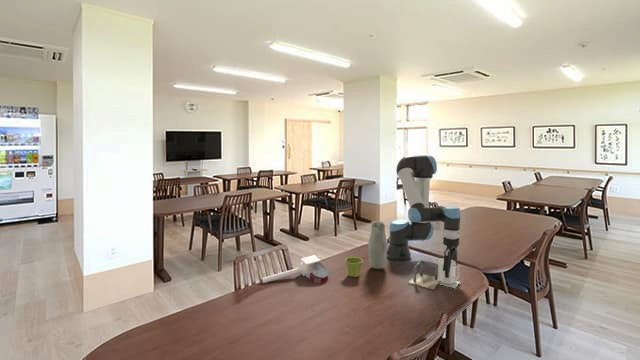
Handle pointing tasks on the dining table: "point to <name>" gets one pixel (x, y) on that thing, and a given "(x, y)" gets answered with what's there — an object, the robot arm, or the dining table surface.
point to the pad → (451, 284)
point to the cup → (452, 269)
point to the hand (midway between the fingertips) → (449, 280)
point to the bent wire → (422, 269)
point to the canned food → (318, 273)
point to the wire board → (425, 281)
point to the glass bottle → (377, 245)
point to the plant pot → (354, 266)
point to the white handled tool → (302, 269)
